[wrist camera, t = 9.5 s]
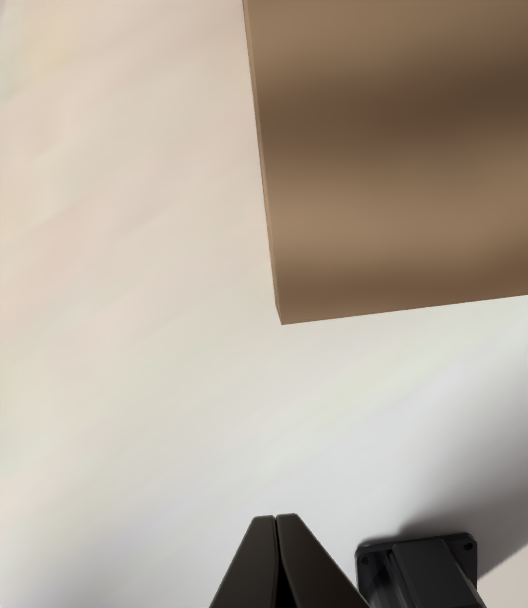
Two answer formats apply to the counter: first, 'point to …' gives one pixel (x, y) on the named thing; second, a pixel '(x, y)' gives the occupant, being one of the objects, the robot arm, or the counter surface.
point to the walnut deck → (391, 151)
